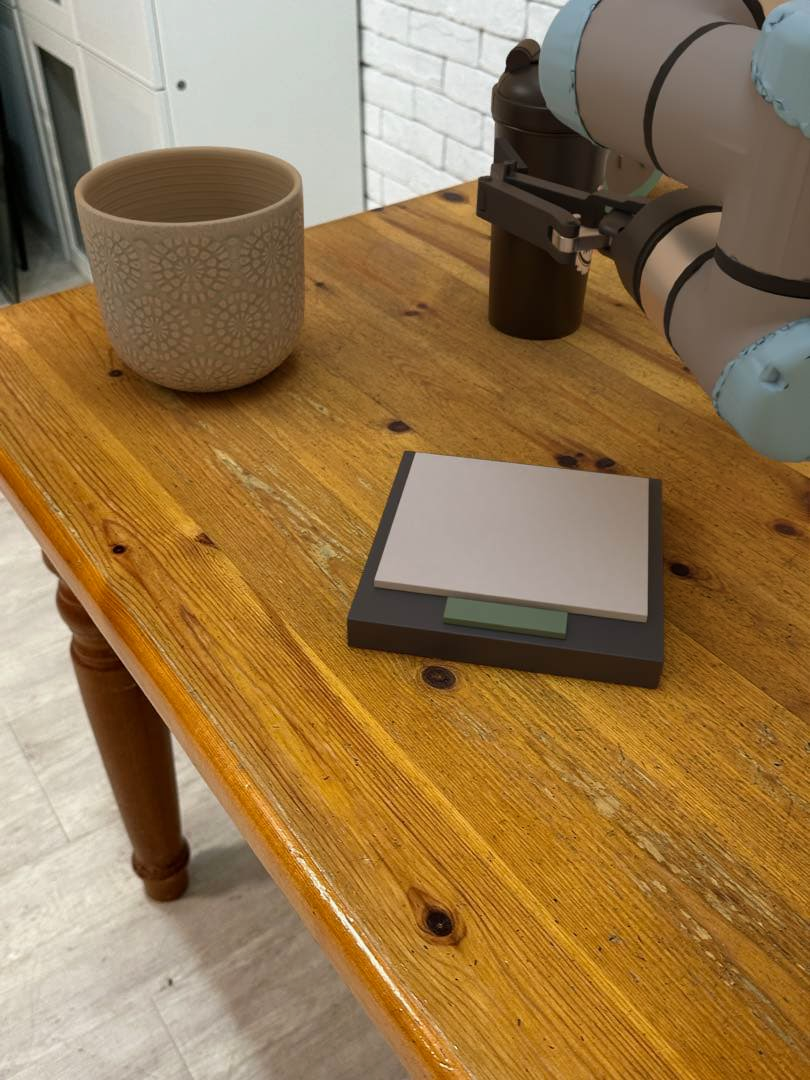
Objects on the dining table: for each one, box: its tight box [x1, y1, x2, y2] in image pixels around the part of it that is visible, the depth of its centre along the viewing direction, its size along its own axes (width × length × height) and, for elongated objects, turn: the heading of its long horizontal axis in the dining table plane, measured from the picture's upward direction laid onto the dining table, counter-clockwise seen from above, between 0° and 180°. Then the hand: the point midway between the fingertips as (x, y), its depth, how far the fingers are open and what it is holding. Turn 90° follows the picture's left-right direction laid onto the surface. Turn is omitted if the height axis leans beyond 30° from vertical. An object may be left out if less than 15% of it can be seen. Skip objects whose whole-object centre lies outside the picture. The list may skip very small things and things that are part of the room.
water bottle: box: [487, 38, 608, 341], centre depth 88 cm, size 10×10×23 cm
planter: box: [73, 145, 306, 393], centre depth 83 cm, size 17×17×15 cm
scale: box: [346, 450, 665, 690], centre depth 66 cm, size 18×18×3 cm
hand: (588, 153), depth 77 cm, fingers open, 13 cm apart
